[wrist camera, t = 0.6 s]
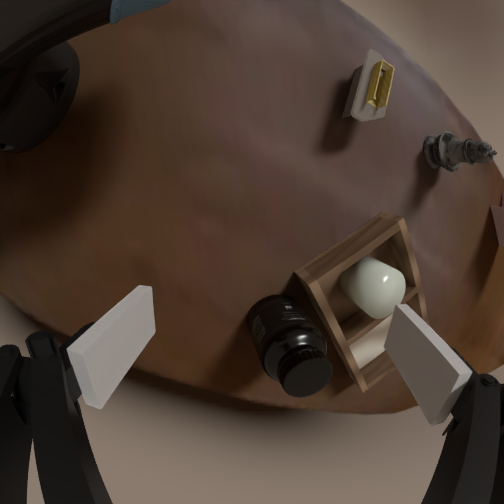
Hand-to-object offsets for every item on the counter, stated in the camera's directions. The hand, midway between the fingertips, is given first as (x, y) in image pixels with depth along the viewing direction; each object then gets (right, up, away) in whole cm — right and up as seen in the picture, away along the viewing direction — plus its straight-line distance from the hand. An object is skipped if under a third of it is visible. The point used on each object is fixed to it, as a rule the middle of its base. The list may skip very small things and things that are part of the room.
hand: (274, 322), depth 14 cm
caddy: (+15, -4, +22) cm, 27 cm away
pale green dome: (+13, 0, +20) cm, 23 cm away
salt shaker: (+26, +19, +19) cm, 37 cm away
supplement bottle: (+2, -4, +20) cm, 21 cm away
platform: (+11, +23, +15) cm, 30 cm away
